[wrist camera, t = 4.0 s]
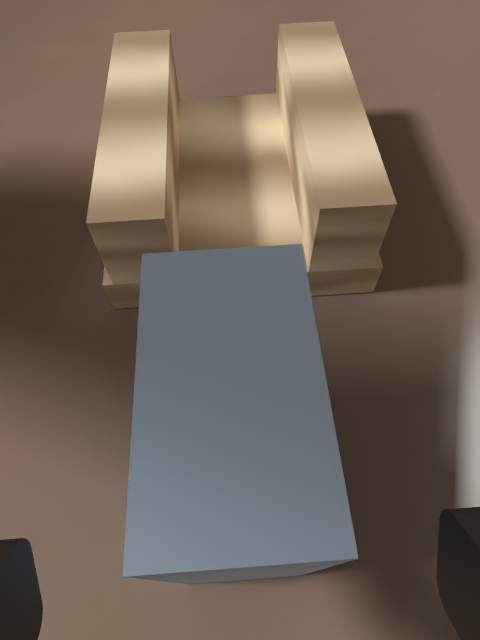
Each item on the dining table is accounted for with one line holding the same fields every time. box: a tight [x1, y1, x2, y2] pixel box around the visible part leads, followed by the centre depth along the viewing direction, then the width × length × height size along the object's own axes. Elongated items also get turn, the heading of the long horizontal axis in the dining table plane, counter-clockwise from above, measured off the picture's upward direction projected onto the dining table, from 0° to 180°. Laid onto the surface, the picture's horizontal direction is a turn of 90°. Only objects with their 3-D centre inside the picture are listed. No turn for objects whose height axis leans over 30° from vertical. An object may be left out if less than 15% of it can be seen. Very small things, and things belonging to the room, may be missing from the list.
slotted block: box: [86, 21, 397, 309], centre depth 23 cm, size 14×13×6 cm
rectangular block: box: [123, 244, 359, 584], centre depth 14 cm, size 7×4×10 cm, turn 4°
